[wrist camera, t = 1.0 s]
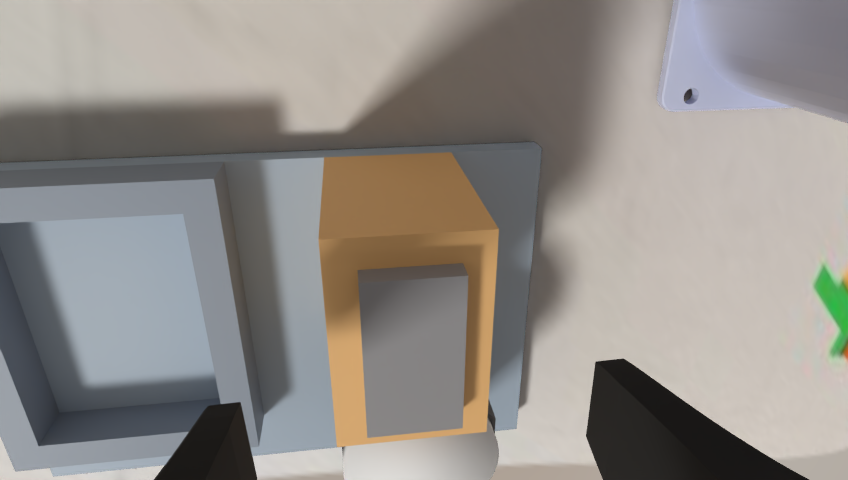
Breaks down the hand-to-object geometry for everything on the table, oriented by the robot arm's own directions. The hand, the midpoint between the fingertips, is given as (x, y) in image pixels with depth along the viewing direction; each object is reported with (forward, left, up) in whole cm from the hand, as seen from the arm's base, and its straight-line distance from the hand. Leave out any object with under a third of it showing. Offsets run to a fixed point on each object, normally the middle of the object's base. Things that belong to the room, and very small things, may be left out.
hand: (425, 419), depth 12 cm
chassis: (+4, +3, -9) cm, 11 cm away
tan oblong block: (0, 0, -8) cm, 8 cm away
